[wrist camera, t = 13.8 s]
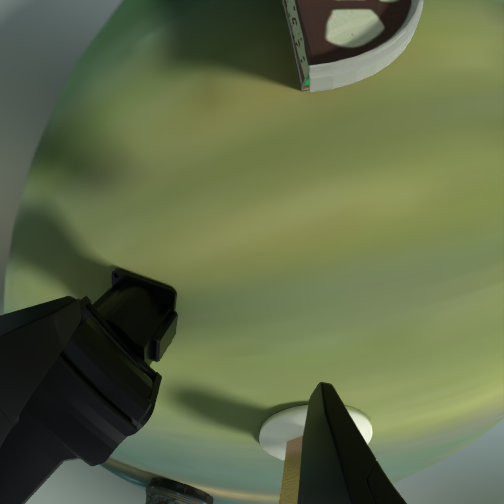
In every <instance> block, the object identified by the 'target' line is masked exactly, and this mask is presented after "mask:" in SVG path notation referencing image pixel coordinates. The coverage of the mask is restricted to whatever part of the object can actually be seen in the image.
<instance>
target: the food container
mask: <svg viewBox="0 0 504 504" xmlns="http://www.w3.org/2000/svg"><path fill="white" fill-rule="evenodd" d="M282 2H283V6H284V10H285V14H286V18H287V22H288V27H289V31H290V35H291V40H292V44H293V49H294V54H295V59H296V64H297V69H298V74H299V79H300V84H301V90H302V91H307V90H310V93H311V92H317V91H323V90H329V89H335V88H338V87H341V86H345V85H349V84H352V83H355V82H358V81H360V80H362V79H364V78H367V77H369V76H371V75H374V74H375V73H377V72H378V71H380V70H381V69H383V68H385V67H386V66H388V65H389V64H391V63H392V62H393V61H394V60H395V59H396V58H397V57H398V56H399V55H400V54H401V53H402V52H403V51H404V49H405V48H406V46H407V45H408V43H409V42H410V40H411V39H412V37H413V34H414V32H415V29H416V27H417V24H418V21H419V18H420V16H421V13H422V8H423V0H282Z"/></svg>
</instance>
